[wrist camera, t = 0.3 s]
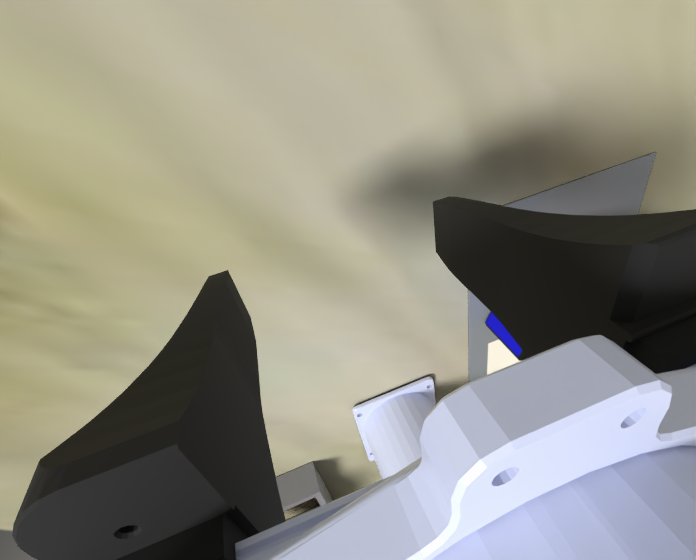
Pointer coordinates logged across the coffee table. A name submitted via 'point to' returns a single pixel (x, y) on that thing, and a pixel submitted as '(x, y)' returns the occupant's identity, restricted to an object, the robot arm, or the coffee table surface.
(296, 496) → the collar
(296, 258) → the coffee table surface
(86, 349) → the coffee table surface
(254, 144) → the coffee table surface
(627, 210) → the game mat
